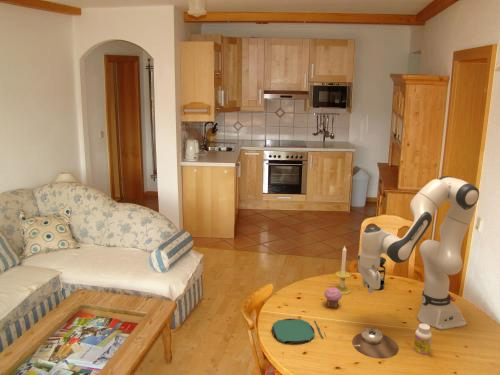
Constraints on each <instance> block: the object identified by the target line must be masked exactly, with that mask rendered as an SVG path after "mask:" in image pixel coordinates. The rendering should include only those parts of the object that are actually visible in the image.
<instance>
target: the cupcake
mask: <svg viewBox="0 0 500 375" xmlns="http://www.w3.org/2000/svg"><path fill="white" fill-rule="evenodd" d="M324 297H325V299H326V305H327V307H328V308H333V309H336V308H338V306H339V301H340V300H341V299H342V297H343V294H342V293H341V291H340V290H338V289H337V288H335V286H333V287H328V288H327V289H326V290H325V291H324Z"/></svg>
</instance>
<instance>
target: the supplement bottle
mask: <svg viewBox="0 0 500 375" xmlns="http://www.w3.org/2000/svg"><path fill="white" fill-rule="evenodd" d="M414 334H415V335H414V342H413V350H414V351H415V352H416V353H418V354H420V355H427V356H429V355H430V353H431V344H432V337H433V335H432V332H431V326H429V325H427V324H424V323H419V324H418V328H417V329H416V330H415V333H414Z"/></svg>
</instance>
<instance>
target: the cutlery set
mask: <svg viewBox="0 0 500 375" xmlns="http://www.w3.org/2000/svg"><path fill="white" fill-rule="evenodd" d="M313 322H314V324H315V326H316V329H317V331H318V334H319V336H320V337H321V338H322V339H324V336H325V337H327V335H326V332H325V331H324V336H323V334H322V332H321V329H320V326H318V323H317V322H316V320H314V321H313ZM271 331H272V334H273V335H274V337H275V338H276V339H277V341H278V342H280V343H282V344H283V343H285V342H286V343H293V344H296V343H297V344H299V343H305V342H307V341H309V342H310V341H311V340H312V339H314V337H315V328H314V327H313V325H311V323H310V322H308V321H306V320H303V319H301V318H283V319H278V320H277V321H275V322H274V323H272V326H271Z"/></svg>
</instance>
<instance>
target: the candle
mask: <svg viewBox="0 0 500 375" xmlns="http://www.w3.org/2000/svg"><path fill="white" fill-rule="evenodd" d="M341 253H342V254H341V256H342V257H341V268H340V269H341V270H338V271H335V273H334V275H335V276H336V277H338V278H340V280H339V285H335V286H334V287H335V288H337V289H338V290H340V291H341V293H342V295H349V294H350V293H351V292H352V290H351V288H350V287H348V286H346V282H345V281H346V279H348V278H350V277H351V275H352V274H351V273H350V272H349V271H346V263H347V262H346V261H347V248H346V245H344V246H343V248H342V252H341Z"/></svg>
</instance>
